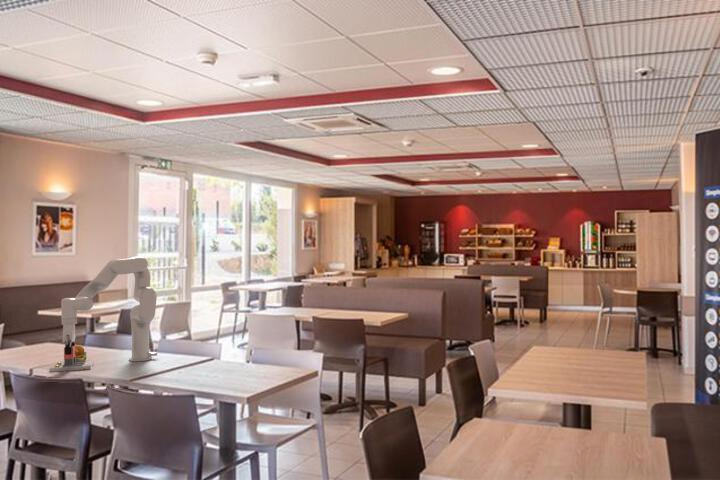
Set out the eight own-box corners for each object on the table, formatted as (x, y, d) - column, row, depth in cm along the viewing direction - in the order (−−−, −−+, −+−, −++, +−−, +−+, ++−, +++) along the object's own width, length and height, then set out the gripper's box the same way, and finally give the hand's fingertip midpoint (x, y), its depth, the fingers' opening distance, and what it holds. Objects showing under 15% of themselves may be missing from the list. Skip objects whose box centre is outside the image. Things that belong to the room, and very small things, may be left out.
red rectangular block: (74, 357, 331) (74, 345, 331) (73, 358, 327) (73, 347, 327) (65, 357, 330) (65, 346, 330) (64, 359, 326) (64, 347, 326)
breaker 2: (76, 362, 337) (76, 355, 337) (75, 363, 333) (74, 356, 333) (68, 362, 335) (68, 355, 335) (67, 364, 332) (66, 356, 332)
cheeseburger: (91, 358, 356) (89, 343, 354) (81, 367, 346) (79, 350, 344) (74, 358, 357) (72, 342, 355) (64, 366, 347) (62, 350, 345)
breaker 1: (73, 364, 331) (73, 357, 331) (72, 365, 327) (72, 358, 327) (65, 365, 330) (65, 357, 330) (64, 366, 326) (64, 358, 326)
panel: (93, 364, 340) (93, 359, 340) (90, 369, 329) (90, 363, 329) (54, 367, 335) (54, 361, 335) (49, 371, 323) (49, 366, 323)
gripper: (64, 319, 336) (65, 350, 336) (58, 323, 319) (59, 356, 319) (79, 318, 338) (80, 349, 338) (74, 323, 321) (74, 355, 321)
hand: (69, 352), depth 329 cm, fingers open, 9 cm apart
